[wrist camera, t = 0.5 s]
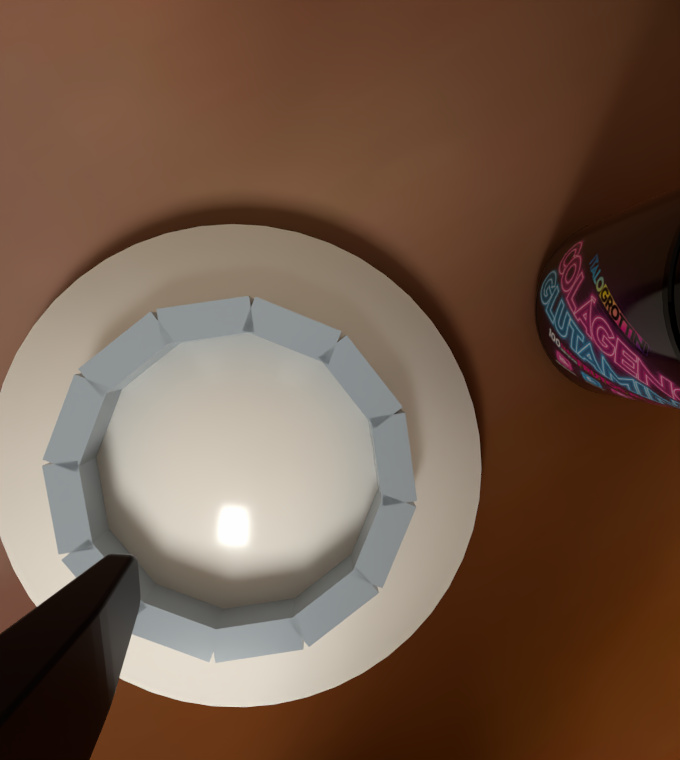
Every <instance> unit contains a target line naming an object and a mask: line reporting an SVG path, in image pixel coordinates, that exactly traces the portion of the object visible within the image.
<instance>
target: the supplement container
mask: <svg viewBox="0 0 680 760" xmlns="http://www.w3.org/2000/svg"><path fill="white" fill-rule="evenodd" d="M535 322H536V328H537V332H538V335H539V339H540V341H541V344H542V346H543V349H544V350H545V352H546V354H547V356H548V357H549V359H550V360H551V362H552V363H553V364H554V366H555V367H556V368H557V369H558V370H559V371H560V372H561V373H562V374H563V375H564V376H565V377H567V378H568V379H569V380H571V381H572V382H574V383H575V384H577V385H578V386H580V387H582V388H585V389H587V390H589V391H592V392H595V393H599V394H603V395H608V396H613V397H618V398H623V399H628V400H633V401H638V402H643V403H648V404H653V405H658V406H663V407H668V408H673V409H678V410H680V186H679V187H676V188H674V189H672V190H669V191H667V192H665V193H662V194H660V195H658V196H655V197H653V198H651V199H648V200H646V201H644V202H642V203H639V204H637V205H635V206H632V207H630V208H628V209H625V210H623V211H621V212H618V213H616V214H614V215H611V216H609V217H607V218H604V219H602V220H600V221H597V222H595V223H593V224H590V225H588V226H586V227H584V228H582V229H581V230H579V231H577V232H576V233H574V234H573V235H572V236H570V237H569V238H568V239H567V240H566V241H565V242H563V243H562V244H561V245H560V247H559V248H558V249H557V250H556V251H555V252H554V254H553V255H552V257H551V258H550V259H549V261H548V263H547V265H546V266H545V268H544V270H543V273H542V275H541V277H540V280H539V283H538V287H537V292H536V298H535Z"/></svg>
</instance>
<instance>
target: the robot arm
mask: <svg viewBox="0 0 680 760" xmlns="http://www.w3.org/2000/svg"><path fill="white" fill-rule="evenodd" d="M140 599H141V592H140V579H139V566H138V560H137V557H136V556H134V555H133V554H119V553H111V554H108V555H106V556H105V557H103V558H102V559H101V560H99V561H98V562H97V563H95V564H94V565H93V566H91V567H90V568H89V569H87V570H86V571H85V572H83V573H82V574H81V575H79V576H78V577H76V578H75V579H74V580H72V581H71V582H70V583H68V584H67V585H66V586H64V587H63V588H62V589H60V590H59V591H58V592H56V593H55V594H54V595H52V596H51V597H49V598H48V599H47V600H45V601H44V602H43V603H41V604H40V605H39V606H37V607H36V608H35V609H33V610H32V611H31V612H29V613H28V614H27V615H25V616H24V617H22V618H21V619H20V620H18V621H17V622H16V623H14V624H13V625H12V626H10V627H9V628H8V629H6V630H5V631H4V632H2V633H1V634H0V760H89V759H90V757H91V754H92V752H93V750H94V747H95V745H96V742H97V740H98V737H99V735H100V732H101V730H102V728H103V725H104V722H105V720H106V717H107V715H108V712H109V709H110V706H111V703H112V700H113V697H114V694H115V690H116V687H117V683H118V680H119V677H120V673H121V670H122V666H123V663H124V659H125V656H126V652H127V649H128V646H129V642H130V639H131V635H132V632H133V628H134V625H135V622H136V618H137V615H138V611H139V607H140Z"/></svg>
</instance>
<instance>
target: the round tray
mask: <svg viewBox="0 0 680 760" xmlns="http://www.w3.org/2000/svg"><path fill="white" fill-rule="evenodd" d="M480 483H481V452H480V437H479V432H478V426H477V421H476V416H475V411H474V406H473V403H472V400H471V397H470V394H469V391H468V388H467V385H466V382H465V379H464V376H463V374H462V372H461V370H460V368H459V366H458V364H457V362H456V360H455V358H454V356H453V354H452V352H451V350H450V348H449V346H448V345H447V343H446V342H445V340H444V339H443V337H442V336H441V334H440V333H439V331H438V330H437V328H436V327H435V325H434V324H433V322H432V321H431V320H430V319H429V318H428V316H427V315H426V314H425V313H424V312H423V311H422V310H421V308H420V307H419V306H418V305H417V304H416V303H415V302H414V300H413V299H412V298H411V297H410V296H409V295H408V294H407V293H405V292H404V291H403V290H402V289H401V288H400V287H399V286H397V285H396V284H395V283H394V282H393V281H392V280H391V279H389V278H388V277H387V276H386V275H384V274H383V273H381V272H380V271H378V270H377V269H375V268H374V267H372V266H371V265H369V264H368V263H366V262H365V261H363V260H362V259H360V258H359V257H357V256H355V255H353V254H351V253H349V252H347V251H345V250H343V249H341V248H339V247H337V246H335V245H333V244H330V243H328V242H325V241H322V240H319V239H316V238H313V237H310V236H307V235H304V234H301V233H298V232H294V231H288V230H283V229H278V228H273V227H268V226H257V225H241V224H225V225H211V226H198V227H194V228H189V229H184V230H179V231H174V232H170V233H166V234H163V235H160V236H157V237H154V238H151V239H148V240H146V241H143V242H140V243H137V244H135V245H133V246H131V247H129V248H127V249H125V250H123V251H121V252H119V253H117V254H115V255H113V256H111V257H109V258H107V259H105V260H104V261H103V262H101V263H100V264H98V265H97V266H95V267H94V268H92V269H91V270H90V271H88V272H87V273H85V274H84V275H82V276H81V277H80V278H78V279H77V280H76V281H75V282H74V283H73V284H72V285H71V286H70V287H68V288H67V289H66V290H65V291H64V292H63V293H62V294H61V295H60V296H59V297H58V298H56V299H55V300H54V302H53V303H52V304H51V305H50V306H49V308H48V309H47V310H46V311H45V312H44V314H43V315H42V316H41V317H40V318H39V320H38V321H37V322H36V323H35V325H34V326H33V327H32V329H31V331H30V332H29V334H28V335H27V337H26V339H25V340H24V342H23V344H22V345H21V347H20V348H19V350H18V352H17V353H16V355H15V358H14V360H13V362H12V364H11V367H10V369H9V371H8V373H7V376H6V378H5V380H4V382H3V386H2V389H1V393H0V536H1V540H2V543H3V545H4V547H5V550H6V552H7V555H8V557H9V560H10V562H11V564H12V567H13V569H14V571H15V573H16V574H17V576H18V578H19V580H20V581H21V583H22V585H23V587H24V588H25V590H26V592H27V594H28V595H29V597H30V598H31V600H32V601H33V602H34V604H35V605H36V606H39V605H40V604H41V603H43V602H44V601H45V600H47V599H48V598H49V597H51V596H52V595H54V594H55V593H56V592H58V591H59V590H60V589H62V588H63V587H64V586H66V585H67V584H68V583H70V582H71V581H72V580H74V579H75V578H76V577H78V576H79V575H81V574H82V573H83V572H85V571H86V570H87V569H89V568H90V567H91V566H93V565H94V564H95V563H97V562H98V561H99V560H101V559H102V558H103V557H105V556H106V555H108V554H111V553H119V554H133V555H134V556H136V557H137V560H138V566H139V579H140V592H141V599H140V607H139V611H138V615H137V618H136V622H135V625H134V628H133V632H132V635H131V639H130V642H129V646H128V649H127V652H126V656H125V659H124V663H123V666H122V670H121V673H120V677H119V678H121V679H122V680H124V681H127V682H129V683H131V684H134V685H136V686H138V687H141V688H143V689H145V690H147V691H150V692H152V693H156V694H159V695H163V696H166V697H169V698H173V699H176V700H180V701H184V702H191V703H197V704H203V705H209V706H226V707H251V706H262V705H273V704H279V703H283V702H288V701H292V700H297V699H301V698H306V697H309V696H311V695H314V694H317V693H320V692H323V691H326V690H328V689H331V688H334V687H336V686H338V685H340V684H342V683H344V682H346V681H348V680H350V679H352V678H354V677H356V676H358V675H360V674H362V673H364V672H365V671H367V670H368V669H370V668H371V667H373V666H374V665H376V664H377V663H378V662H380V661H381V660H383V659H384V658H386V657H387V656H389V655H390V654H391V653H392V652H393V651H394V650H396V649H397V648H398V647H399V646H400V645H401V644H402V643H404V642H405V641H406V640H407V639H408V638H409V637H410V636H411V635H412V634H413V633H414V632H415V631H416V630H417V629H418V628H419V626H420V625H421V624H422V623H423V622H424V621H425V620H426V618H427V617H428V616H429V615H430V614H431V613H432V611H433V610H434V608H435V607H436V605H437V604H438V603H439V601H440V600H441V598H442V597H443V595H444V594H445V592H446V591H447V589H448V588H449V586H450V584H451V582H452V580H453V578H454V576H455V574H456V572H457V570H458V568H459V566H460V564H461V562H462V560H463V557H464V555H465V552H466V549H467V546H468V543H469V540H470V537H471V534H472V532H473V528H474V523H475V518H476V513H477V508H478V504H479V496H480Z"/></svg>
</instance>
